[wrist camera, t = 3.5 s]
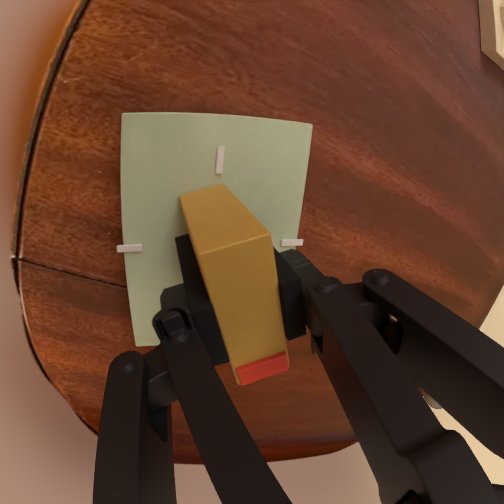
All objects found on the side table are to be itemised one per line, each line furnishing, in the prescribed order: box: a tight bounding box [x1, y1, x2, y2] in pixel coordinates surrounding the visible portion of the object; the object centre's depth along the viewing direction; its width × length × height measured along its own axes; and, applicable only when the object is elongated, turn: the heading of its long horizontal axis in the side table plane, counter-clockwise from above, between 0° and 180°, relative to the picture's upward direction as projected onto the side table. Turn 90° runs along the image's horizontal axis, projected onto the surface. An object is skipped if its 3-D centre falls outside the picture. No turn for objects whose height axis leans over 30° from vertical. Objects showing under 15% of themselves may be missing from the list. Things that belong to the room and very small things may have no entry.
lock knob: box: [179, 184, 290, 386], centre depth 14 cm, size 6×2×7 cm, turn 10°
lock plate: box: [117, 112, 313, 346], centre depth 18 cm, size 14×11×3 cm
